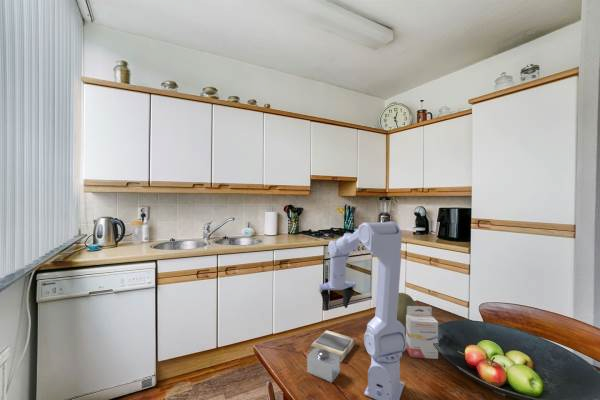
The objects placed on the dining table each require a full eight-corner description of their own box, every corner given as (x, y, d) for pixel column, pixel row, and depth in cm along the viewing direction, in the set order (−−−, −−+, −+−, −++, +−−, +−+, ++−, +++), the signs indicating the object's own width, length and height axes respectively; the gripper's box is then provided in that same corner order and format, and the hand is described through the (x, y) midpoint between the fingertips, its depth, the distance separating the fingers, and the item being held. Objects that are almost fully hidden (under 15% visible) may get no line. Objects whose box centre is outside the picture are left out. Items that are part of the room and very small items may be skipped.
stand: (341, 362, 79) (340, 354, 79) (310, 351, 85) (310, 344, 85) (354, 344, 89) (354, 337, 89) (326, 335, 95) (326, 329, 95)
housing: (331, 383, 70) (331, 361, 70) (307, 372, 75) (307, 352, 75) (339, 372, 75) (339, 352, 75) (315, 363, 79) (315, 344, 79)
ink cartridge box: (410, 358, 81) (410, 311, 81) (405, 349, 86) (405, 305, 86) (439, 359, 80) (438, 312, 81) (432, 350, 85) (431, 306, 86)
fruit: (383, 325, 103) (383, 288, 103) (411, 325, 102) (411, 288, 103) (392, 340, 91) (392, 298, 92) (424, 341, 91) (424, 299, 91)
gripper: (350, 267, 100) (348, 300, 101) (315, 270, 96) (313, 304, 97) (359, 274, 93) (357, 309, 95) (322, 277, 89) (320, 314, 90)
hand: (335, 307), depth 95 cm, fingers open, 7 cm apart
